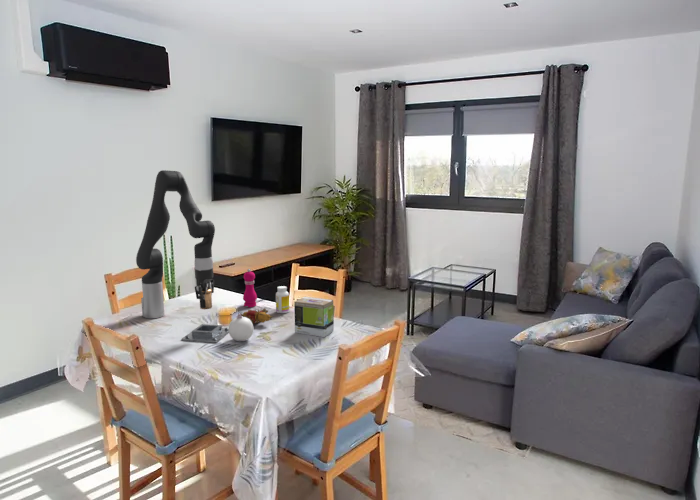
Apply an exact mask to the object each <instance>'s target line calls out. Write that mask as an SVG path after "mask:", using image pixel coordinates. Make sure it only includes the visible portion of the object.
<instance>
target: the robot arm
mask: <svg viewBox="0 0 700 500" xmlns="http://www.w3.org/2000/svg"><path fill="white" fill-rule="evenodd" d="M167 192H177V193H178V194H179V196H180V199H179V205H178V206H179V211H180V213H181V214H182V216H183V217H184V219H185V221H186V224H187V228H188V233H189V235H190V237H192V238H194V239H202V241H201V242H198V243H196V244H194V247H193V248H194V249H193V251H194V278H195V280H198V284H197V285H194V292H195V296H196V300H199V308H200V307H201V308H205V307H206V302H205V296H206V293H207V292H206V291H207V290H208V289H212V292H211V295H213V294H214V291H215V279H213V278H214V263H213V256H212V255H213V253H212V246H213V241H214V238H215V232H216V228H215V224H214V223H213V222H212V221H211V220H202V219H203V213H202V211H201V210H200V208H199V207H198V206H197V203H195V201H194V199H193V197H192V194H191V191H190V189H189V187H188V184H187V182H186V179H185V177H184V175H183V174H182V173H181V172H180V171H176V170H166V169H165V170H163V169H162V170H160V171H158V173H157V175H156V177H155V183H154V190H153V197H152V201H151V202H152V203H151V206H150V209H149V213H148V216H147V221H146V225H145V229H144V232H143V237H142V240H141V242H140V245H139V247H138V251H137V253H136V257H135V262H136V266H137V267H138V269H139V270H145V271H146V270H148V271H147V272H146V273H145V274H144V275H142V277H141V287H142V288H141V289H142V297H141V300H140V301H141V312H142V313H141V314H142V315H141V316H142V318H145V319H158V318H159V319H160V318H162V317H164V316H165V303H164V302H165V301H164V289H163V288H164V287H163V276H164V259H163V258H164V257H163V254H162V252H161V250H160V249H158V248H155V246H156V244H157V243H158V242H159V240H161V238H162V237H164V235H165V234H166V232H167V229H168V227H169V225H170V220H171V219H170V218H171V215H170V212H169V210H168V207H167V205H166V202H165V198H166V197H165V196H166V193H167ZM202 291H205V292H202Z"/></svg>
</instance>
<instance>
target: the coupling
mask: <svg viewBox="0 0 700 500" xmlns="http://www.w3.org/2000/svg"><path fill="white" fill-rule="evenodd" d="M228 334H229V327H222V325H220V324H205V323H202V324H200V325H199V326H196V328H194V329H193V330H192V331H190V332H189V333H187V334H186V335H185V336H183V337H181V339H180V340H181V342H195V343H207V344H208V343H209V344H217V343H218V342H220V341H221V340H223V339H224V338H225V337H226V336H227V335H228Z"/></svg>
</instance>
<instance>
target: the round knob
mask: <svg viewBox="0 0 700 500" xmlns="http://www.w3.org/2000/svg"><path fill="white" fill-rule="evenodd" d="M202 292H205V291H202ZM206 292H207V293H206V296H205V302H206V307H205V308H201V307H200V306H199V309H200V310H211V309H213V299H212V295H213V294H212V295H211V292H212V289H208V290H207V291H206Z"/></svg>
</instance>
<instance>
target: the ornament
mask: <svg viewBox="0 0 700 500" xmlns="http://www.w3.org/2000/svg"><path fill="white" fill-rule="evenodd" d="M241 314H242V313H241ZM241 314H240V313H238V314H237V317H235V318H233V319H231V321H230V322H229V325H228V329H229V333H228V334H229V336H230V338H231V339H232V340H234V341H236V342H244V341H247V340H249V339H250V338H251V337H252V335H253V333H254V324H252V322H251V320H250V319H248V318H246V317H243V316H241ZM239 316H240V317H239Z"/></svg>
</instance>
